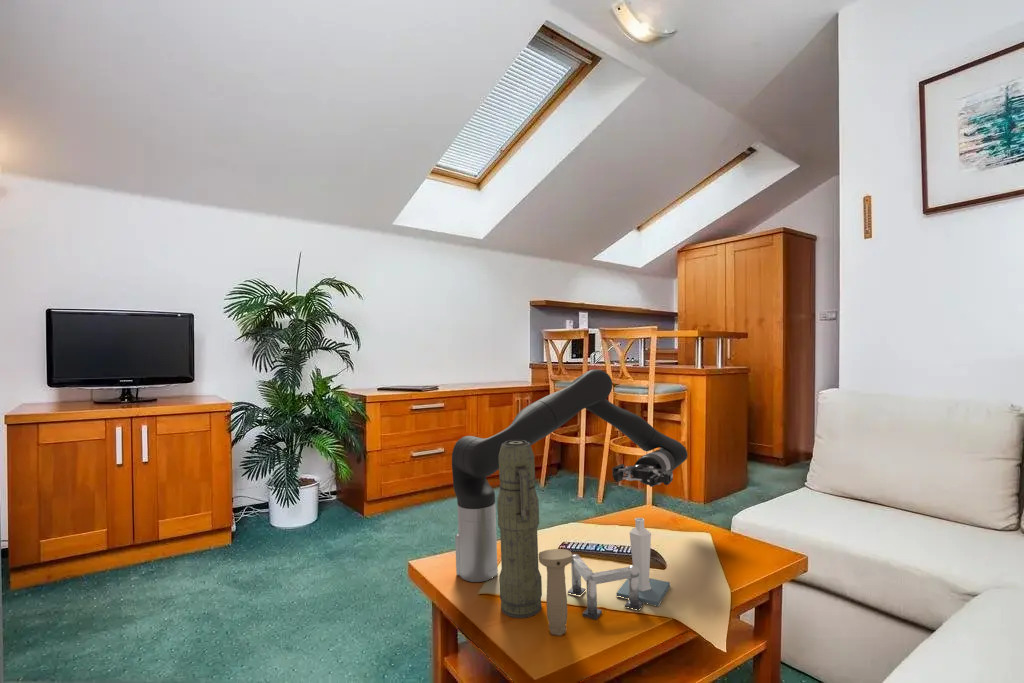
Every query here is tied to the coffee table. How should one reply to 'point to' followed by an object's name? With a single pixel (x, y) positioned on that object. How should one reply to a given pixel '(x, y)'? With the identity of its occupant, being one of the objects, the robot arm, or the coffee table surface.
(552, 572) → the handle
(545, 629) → the coffee table surface
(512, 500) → the thermos
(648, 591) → the slate mat
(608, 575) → the bent rail
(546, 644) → the coffee table surface
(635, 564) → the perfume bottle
